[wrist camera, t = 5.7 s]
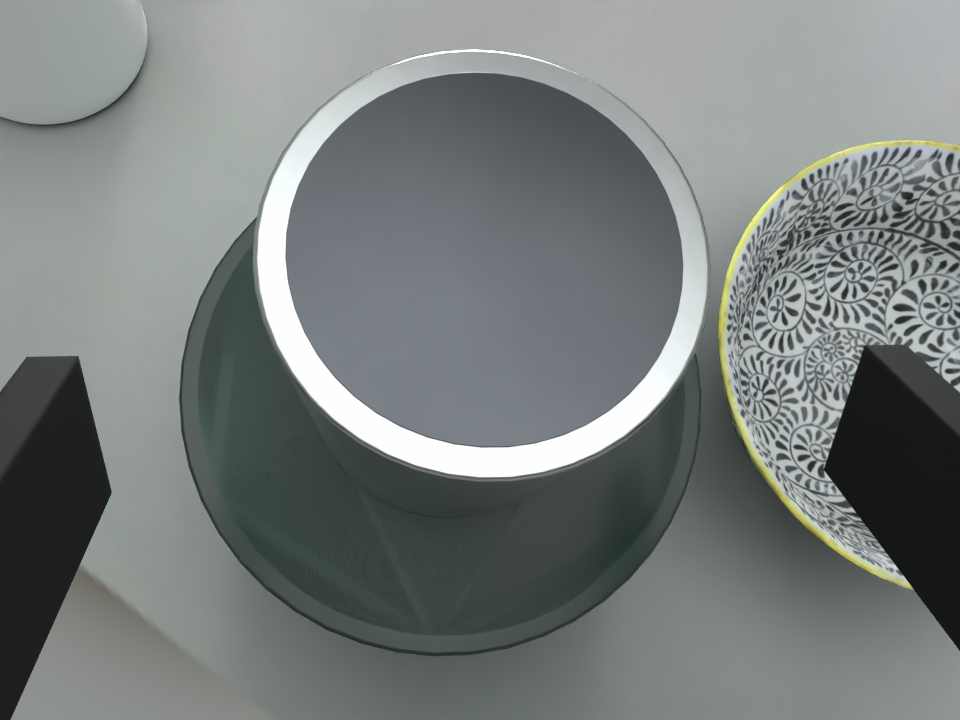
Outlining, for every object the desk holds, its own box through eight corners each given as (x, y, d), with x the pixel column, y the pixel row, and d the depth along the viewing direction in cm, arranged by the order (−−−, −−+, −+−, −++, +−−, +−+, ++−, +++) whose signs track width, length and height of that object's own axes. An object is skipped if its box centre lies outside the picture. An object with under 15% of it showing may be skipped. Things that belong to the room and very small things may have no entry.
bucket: (177, 427, 31) (64, 354, 20) (443, 215, 34) (465, 57, 24) (415, 706, 29) (428, 787, 19) (669, 455, 33) (802, 402, 22)
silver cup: (252, 366, 21) (150, 220, 12) (458, 202, 22) (500, -30, 14) (439, 579, 20) (475, 589, 11) (637, 391, 22) (804, 272, 13)
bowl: (900, 677, 31) (1053, 711, 24) (576, 429, 32) (629, 390, 25) (1067, 369, 35) (1240, 318, 28) (775, 158, 37) (869, 57, 29)
